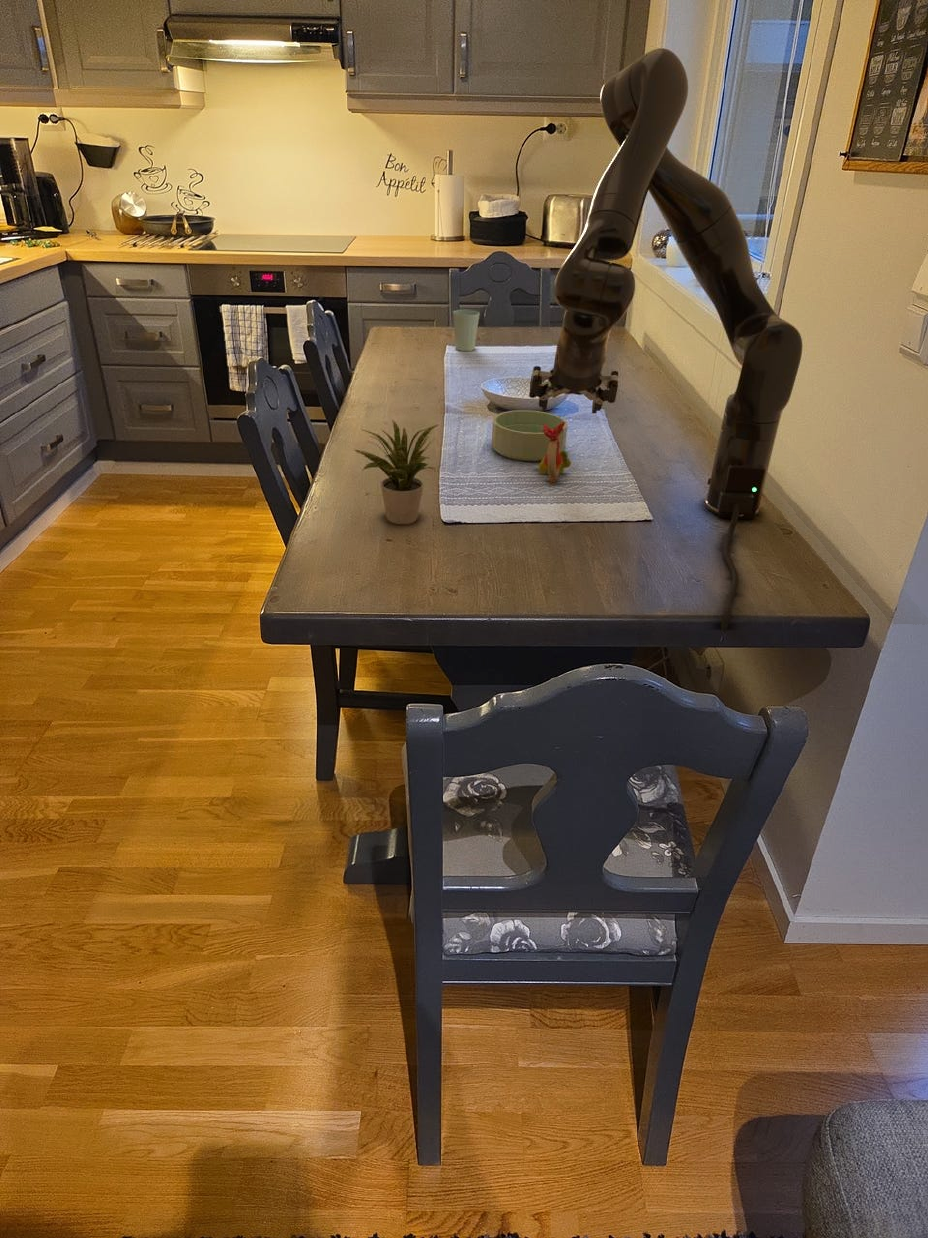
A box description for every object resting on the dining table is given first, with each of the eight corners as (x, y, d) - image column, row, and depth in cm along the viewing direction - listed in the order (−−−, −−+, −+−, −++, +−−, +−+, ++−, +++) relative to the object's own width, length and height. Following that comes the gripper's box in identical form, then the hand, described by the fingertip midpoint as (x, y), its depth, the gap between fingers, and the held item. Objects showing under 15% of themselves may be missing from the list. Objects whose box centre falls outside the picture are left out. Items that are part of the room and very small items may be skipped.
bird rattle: (568, 493, 160) (571, 460, 165) (574, 450, 151) (576, 416, 156) (536, 490, 160) (539, 457, 166) (539, 447, 151) (542, 414, 157)
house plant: (403, 492, 152) (403, 403, 143) (462, 514, 144) (465, 421, 136) (346, 515, 142) (342, 421, 134) (405, 539, 135) (406, 442, 126)
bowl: (565, 464, 167) (568, 435, 164) (489, 460, 168) (491, 430, 165) (563, 439, 180) (565, 412, 177) (492, 435, 181) (494, 408, 178)
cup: (446, 349, 246) (448, 312, 241) (459, 344, 252) (461, 308, 247) (469, 353, 243) (471, 315, 238) (482, 348, 249) (484, 311, 244)
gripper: (627, 336, 129) (611, 390, 144) (535, 330, 129) (529, 384, 145) (625, 380, 127) (609, 429, 143) (532, 374, 127) (526, 424, 143)
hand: (569, 406), depth 144 cm, fingers open, 8 cm apart
